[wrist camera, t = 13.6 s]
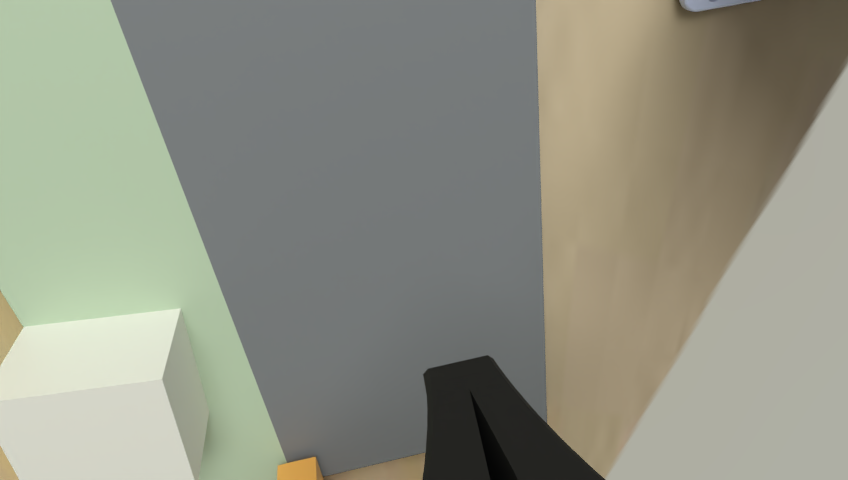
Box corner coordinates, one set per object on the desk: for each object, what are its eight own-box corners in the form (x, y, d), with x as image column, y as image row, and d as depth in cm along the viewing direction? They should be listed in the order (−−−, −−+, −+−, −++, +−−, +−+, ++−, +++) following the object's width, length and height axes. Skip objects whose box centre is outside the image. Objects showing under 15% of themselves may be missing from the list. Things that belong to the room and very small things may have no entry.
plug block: (180, 308, 21) (162, 379, 18) (209, 411, 23) (197, 488, 20) (23, 326, 20) (-23, 403, 17) (71, 430, 23) (38, 513, 20)
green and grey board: (519, -148, 17) (531, -149, 16) (539, 406, 28) (546, 423, 27) (-177, -42, 15) (-204, -37, 14) (148, 499, 27) (143, 519, 26)
